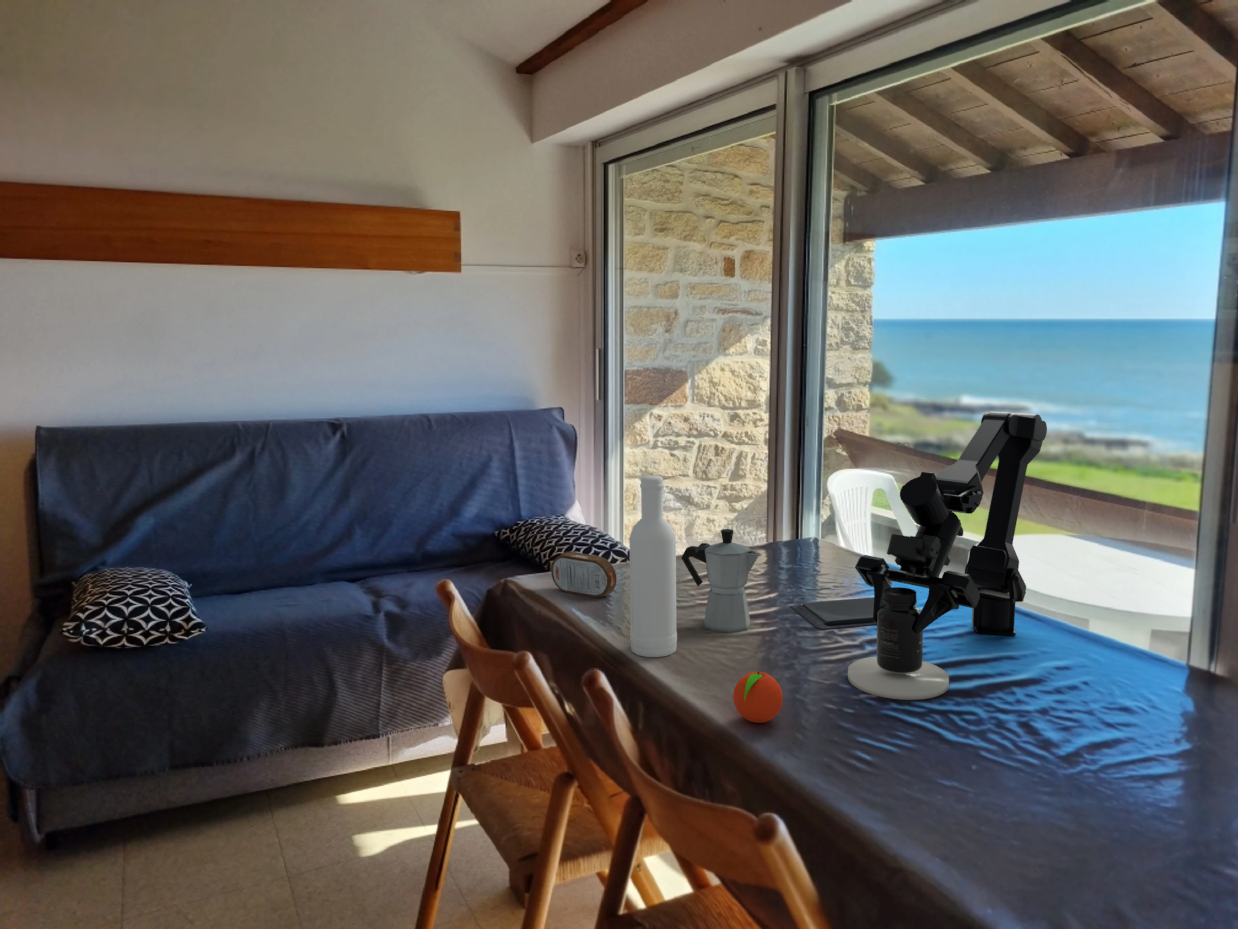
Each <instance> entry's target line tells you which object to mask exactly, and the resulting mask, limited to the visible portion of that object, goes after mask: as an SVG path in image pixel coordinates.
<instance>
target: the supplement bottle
mask: <svg viewBox="0 0 1238 929" xmlns="http://www.w3.org/2000/svg"><path fill="white" fill-rule="evenodd" d="M917 601H918V600H917V591H916V590H915V589H912V588H908V587H901V586H899V587H897V586H895V587H893V586H892V587H891V588H887V589H885V590H884V598H883V602H884V603H885V605H884V606H882V607H881V608H880V609H879V610H878V612H877V625H876V657H877V664H878V665H879V667H880V668H882V669H884V670H887V671H891V672H897V673H910V672H915V671H918V670H919V669H920V668H921V667H922V661H923V654H924V653H923V650H924V649H923V646H924V645H923V641H924V630H922V631H921V632H920V633H916V632H915V631H914V628H915V625H916V622H917V619H918V617H919V615H920V613H921V611H922V610H921V609H920V608H918V607H917V606H916V605H917V604H918V602H917Z"/></svg>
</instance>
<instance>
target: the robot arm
mask: <svg viewBox="0 0 1238 929" xmlns="http://www.w3.org/2000/svg"><path fill="white" fill-rule="evenodd" d="M1047 433H1048V426H1047V422H1046V421H1045V420H1043V419H1042V417H1041V415H1040V414H1036V413H1035V414H1034V413H1022V412H1021V413H1020V412H1017V413H1016V412H1005V411H1004V412H1003V411H1002V412H1000V411H988V412H984V414H983V415H982V417H981V420H980V425H979V427H978V429H977V430H976V432H975V433H974V435H973V436H972V437H971V439H970V441H969V442H968V444H967V445H966V446H965V448H964V449H963V451H962V453H961V454H960V456H959V457H958V459H957V460H956V462H955V463H953V464H950V465H948V466H946V467H944V468H943V469H941V470H940V471H939V472H938V473H937V474H935V473H934V472H929V471H921V473H920V476H917V477H915V478H914V477H913V479H910V480H909V481H907V482H906V483H905V484H903V485H902V487H901V488H900V490H899V497H900V500H901V502H902V504H903V506H904V507H905V509H906V511H907V512H908V513H909V515H910V517H911V519H912V520H913V522H914V523H915V524H916V525H919V527H918V529H917V531H916V533H915V535H914V536H912V535H910V536H909V535H902V534H897V533H896V534H895V533H892V534H891V536H890V539H889V543H888V548H887V552H886V554H887V555H889V556H890V555H891V556H893V557H895V559H894V562H895V564H896V565H897V566H900V568H899V569H898V568H897V569H896V568H893V567H890V566H889V564H888V563H887V561H886V560H885V559H884V558H882V557H879V556H878V557H877V556H873V555H866V554H865V555H862V556H860V557H859V558H858V560H857V562H856V564H855V565H854V568H855V570H856V571H857V573H858V574H859V576H860V577H861V578H862V580H863V581H864V583H865V584H866V586H869V587H871V588H873V594H874V595H873V598H874V610H873V621H874V622H875V623H877V612H878V610H879V609H880V608H881V607H882V606H884V605H885V603H884V602H883V598H884V590H885V589H887V588H892V585H893V583H895V582H897V583H901V584H906V585H911V586H915V587H920V588H924V589H928V594H927V598H926V601H925V602H924V605H923V607H922V609H921V610H920V611H921V613H920V615H919V617H918V619H917V622H916V625H915V628H914V631H915V632H916V633H920V632H921V631H922V630H923V631H924V630H925V629H926V628H927V627H929V626H930V625H931V624H932V623H934V622H935V621H937V619H939V618H941V617H942V616H944V615H945V614H947V613H948V612H950V611H951V610H959V608H960V606H961V607H965V608H970V609H971V625H972V626H973V627H974V628H975V632H976V633H978V634H989V635H1003V636H1016V634H1017V632H1016V629H1015V619H1016V603H1018V602H1019V603H1022V602H1024V598H1025V595H1026V590H1027V584H1026V583H1025V580H1024V579H1023V577H1022V574H1021V573H1020V570H1019V566H1020V560H1019V557H1018V554H1017V553H1016V550H1015V548H1014V545H1013V543H1014V539H1015V538H1014V537H1015V533H1016V527H1017V523H1018V516H1019V511H1020V506H1021V500H1022V495H1023V489H1024V485H1025V479H1026V474H1027V470H1028V465H1029V464H1030V463H1031V462H1032V461H1033V460H1034V459H1035V457H1037V455H1039V453H1040V452H1041V448H1042V445H1043V441H1044V440H1045V439H1046V437H1047ZM997 457H998V462H997V468H996V473H995V477H994V478H995V479H994V484H993V487H992V488H993V490H992V494H991V500H990V503H989V510H988V515H987V520H986V524H985V531H984V536H983V538H982V539H981V540H980V542H978V544H977V545H976V544H973V545H972V546H971V547H970V548H969V555H968V560H967V563H966V565H965V568H964V572H963V573H962V572H958V571H952V570H946V571H945V572H943V574H942V576H941V577H940V575H941V572H942V570H943V568H944V566H947V567H948V566H950V562H951V558H949V554H950V553H951V550H952V547H953V546H954V542H955V540H956V538H957V537H964V529H963V526H962V523H961V519H960V518H959V517H958V516H957V514H956V513H961V514H970V515H971V514H973V513H975V511H976V509H978V507H980V504H981V503H982V499H983V495H984V493H985V492H984V488H983V484H982V482H983V480H984V478H985V476H986V474H988V471H989V470H990V468H991V467H992V465H993V463H994V462H995V460H996V459H997Z"/></svg>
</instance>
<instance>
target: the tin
mask: <svg viewBox="0 0 1238 929" xmlns="http://www.w3.org/2000/svg"><path fill="white" fill-rule="evenodd" d="M550 568H551V569H550V571H551V578H552V581H553V583H554V585H555V586H557V587H558V589H559V590H561V591H563V592H565V593H568V594H574V595H579V596H584V597H591V598H595V599H597V598H598V599H600V598H602V597H605V596H606V595H609V594H611V593H612V592H613V591H614V590H615V588H616V585H617V581H618V580H617V578H618V577H617V573H616V570H615V567H614V566H613V565H612V563H611V562H610V561H609V560H608V559H606V558H605V557H603V556H599V555H594V554H593V555H592V554H587V553H580V552H576V551H575V552H574V551H565V552H563V553H562V554H560V555H558V556H557V557H555V558H554V560H553V561H552V562H551V567H550Z"/></svg>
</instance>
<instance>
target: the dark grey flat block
mask: <svg viewBox="0 0 1238 929" xmlns="http://www.w3.org/2000/svg"><path fill="white" fill-rule="evenodd" d="M789 607H790V609H791V610H793V611H794V612H795V613H796V614H797V615H798V616H800V617H801V618H802V619H804V621H806V622H807V623H808V624H810V625H811V626H813V628H815V629H817V630H820V631H825V630H828V631H829V630H838V629H839V630H840V629H851V628H862V627H871V626H877V623H875V622H874V621H873V610H874V597H871V598H870V597H869V598H867V597H866V598H858V599H857V598H856V599H845V600H834V601H833V600H832V601H831V600H830V601H822V602H821V601H820V602H807V603H801V604H800V605H790V606H789Z"/></svg>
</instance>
